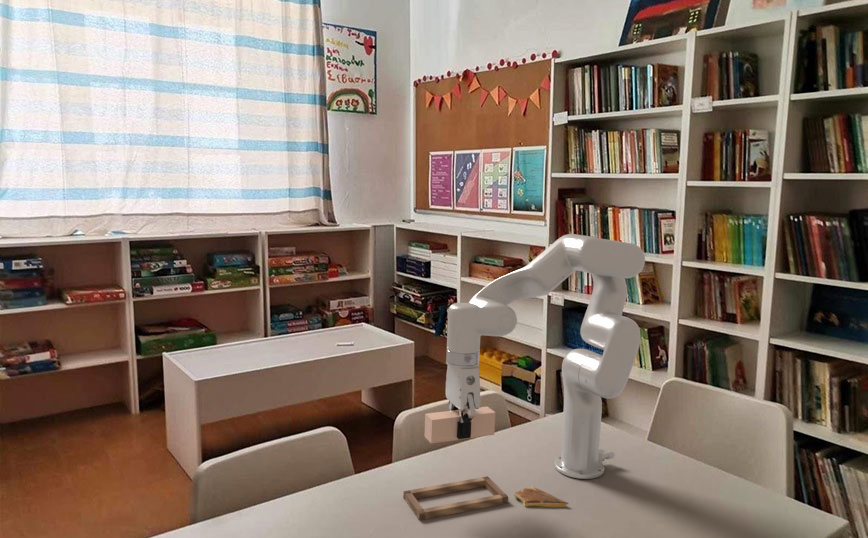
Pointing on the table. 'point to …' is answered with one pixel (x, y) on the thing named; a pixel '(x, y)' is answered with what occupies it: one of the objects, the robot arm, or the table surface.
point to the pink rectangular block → (446, 423)
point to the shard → (538, 498)
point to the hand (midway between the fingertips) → (459, 433)
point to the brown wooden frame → (457, 507)
